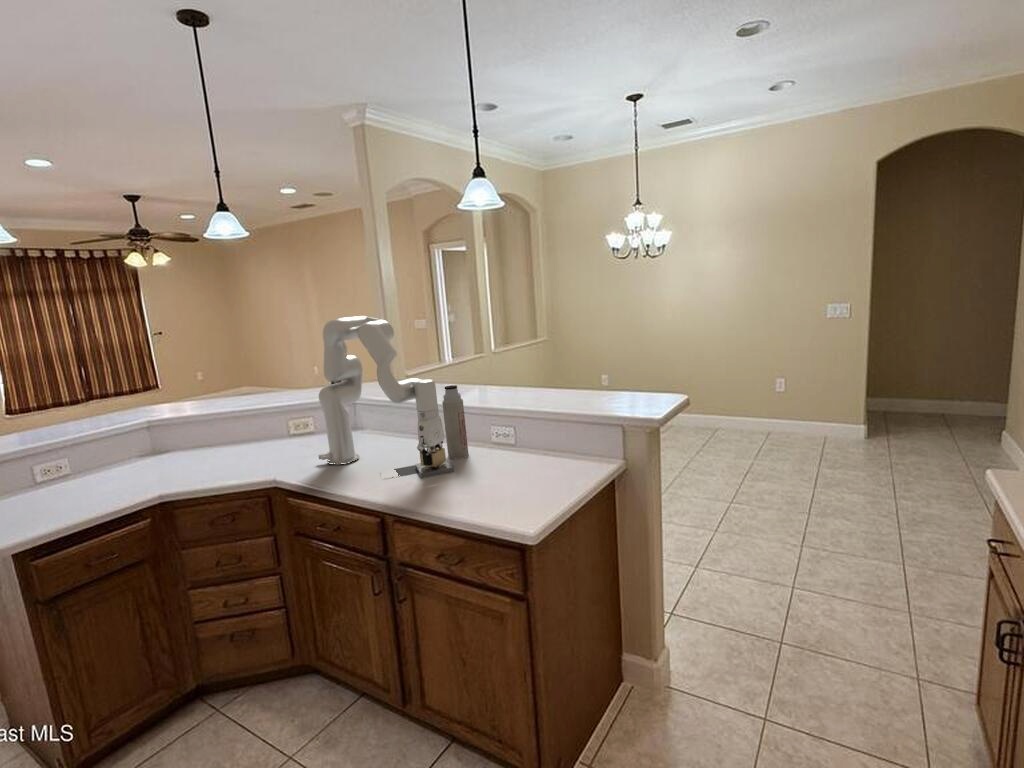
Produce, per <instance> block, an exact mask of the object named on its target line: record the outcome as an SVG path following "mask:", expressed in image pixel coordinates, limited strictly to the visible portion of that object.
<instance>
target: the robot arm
mask: <svg viewBox="0 0 1024 768" xmlns="http://www.w3.org/2000/svg"><path fill="white" fill-rule="evenodd" d="M394 336H395V331H394V327H393V326H392V324H391V323H390V322H388V321H386V319H380V318H376V317H371V316H367V315H366V316H365V315H357V316H347V317H346V316H345V317H339V318H334V319H333V318H332V319H331V320H329V321H328V322H327V321H326V323H325V324H324V326H323V329H322V338H323V345H324V346H323V376H324V379H325V380H326V381H328V382H330V383H332V384H328V385H325V386H323V387H322V388H321V389H320V390H319V392H318V401H319V404H320V407H321V409H322V414H323V418H324V423H325V424H324V425H325V429H326V435H327V442H328V449H329V450H328V452H326V453H322V454H318V455H317V456H318V460H322V461H324V460H326V462H329V463H333V464H334V463H335V464H341V463H348V462H352V461H355V460H357V459H358V460H359V459H360V454H359V453H356V451H355V443H354V438H353V437H354V436H353V431H352V429H353V428H352V424H351V416H350V414H349V412H348V411H347V409H346V408H345V406H348V405H351V404H353V403H356V402H357V401H359V400H360V398H361V395H362V387H363V365H362V362H361V360H360V359H359V358H358V357H357V356H356V355H354V354H348V347H347V345H346V342H345V341H348V340H349V341H350V340H355V339H359V341H360V343H361V344H362V345H363V346H364V348H365V349H366V351H367V352H368V354H369V355H370V357H371V358H372V359H373V362H375V364H376V376H377V382H378V385H379V387H380V389H381V390H382V391H383V392H384V394H385V395H386V397H387V398H388V399H389V401H391V402H392V403H394V404H402V403H406V402H408V401H409V402H410V401H412V400H414V399H415V406H416V412H417V440H418V444H417V447H416V449H417V450H418V451H419V454H420V453H421V455H423V464H424V465H428V466H431V465H432V463H431V455H430V454H429V453H430V447H433V446H435V448H444V446H443V443H444V441H445V434H444V427H443V422H442V418H441V416H440V413H439V406H438V405H439V404H438V396H437V388H436V381H435V380H433V379H431V378H430V379H429V378H428V379H426V378H424V379H420V378H415V377H410V378H407V379H402V380H399V381H398V380H397V379H396V378H395V376H394V375H393V373H392V369H391V364H392V362H394V361H395V359H396V358H397V355H398V352H397V350H396V349H395V347H394V346H393V345H392V343H391V342H390V341H392V339H393V338H394ZM425 449H427V451H426V450H425ZM328 460H330V461H328ZM358 460H357V461H358ZM355 462H356V461H355ZM352 463H353V462H352Z"/></svg>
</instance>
